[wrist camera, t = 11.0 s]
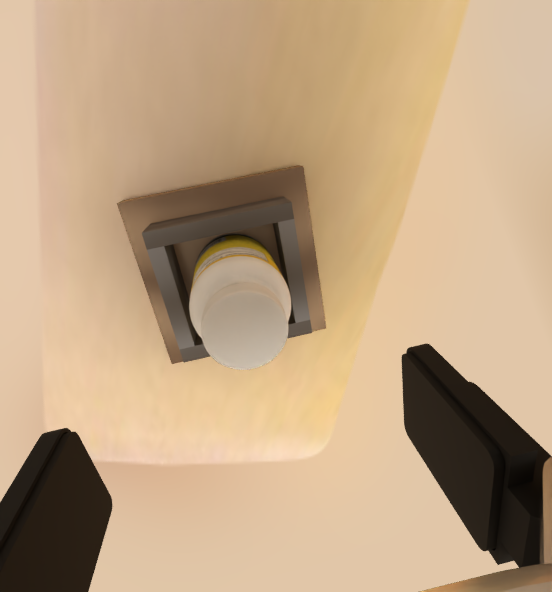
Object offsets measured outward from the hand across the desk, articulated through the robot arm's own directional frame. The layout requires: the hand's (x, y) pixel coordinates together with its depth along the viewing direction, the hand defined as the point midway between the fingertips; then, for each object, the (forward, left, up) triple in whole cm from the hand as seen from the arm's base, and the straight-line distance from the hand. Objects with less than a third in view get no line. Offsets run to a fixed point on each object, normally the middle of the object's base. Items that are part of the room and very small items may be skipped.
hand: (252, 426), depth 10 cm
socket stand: (+1, 0, -18) cm, 18 cm away
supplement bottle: (0, 0, -16) cm, 16 cm away
